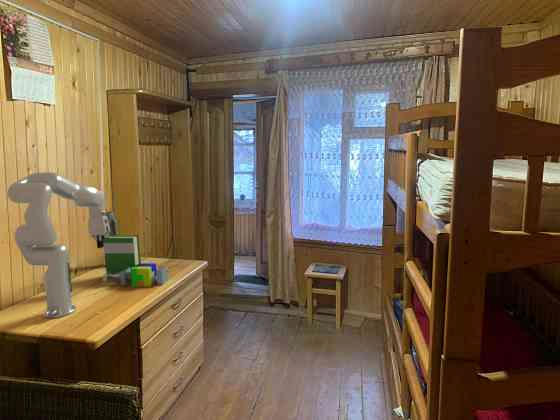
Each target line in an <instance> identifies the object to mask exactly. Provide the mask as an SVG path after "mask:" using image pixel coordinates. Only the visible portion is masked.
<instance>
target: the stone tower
mask: <svg viewBox="0 0 560 420" xmlns="http://www.w3.org/2000/svg"><path fill="white" fill-rule="evenodd" d="M106 212H107V214H105V216H107V218H108V222H109V227H110V233H109V235H118V234H119V232H118V230H119V229H118V228H119V226H118V221H117V219H116V215H115V212H113V211H111V210H110V211H106Z"/></svg>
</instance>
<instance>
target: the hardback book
mask: <svg viewBox="0 0 560 420" xmlns="http://www.w3.org/2000/svg"><path fill="white" fill-rule="evenodd" d="M103 242H104V247H103V252H104V253H103V254H104V263H105V274H106V273H107V272H111V275H113V272H117V271H121V270H123V269H124V268H125V267H130V269H131V268H132V267H134V266H135V265H137V264H139V263H142V259H141V258H142V257H141V247H140V235H138V234H128V235H127V234H126V235H125V234H119V235H109V237H106V238H105V239H104V240H103ZM110 279H111V280H114V278H110ZM110 279H109V280H110Z"/></svg>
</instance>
